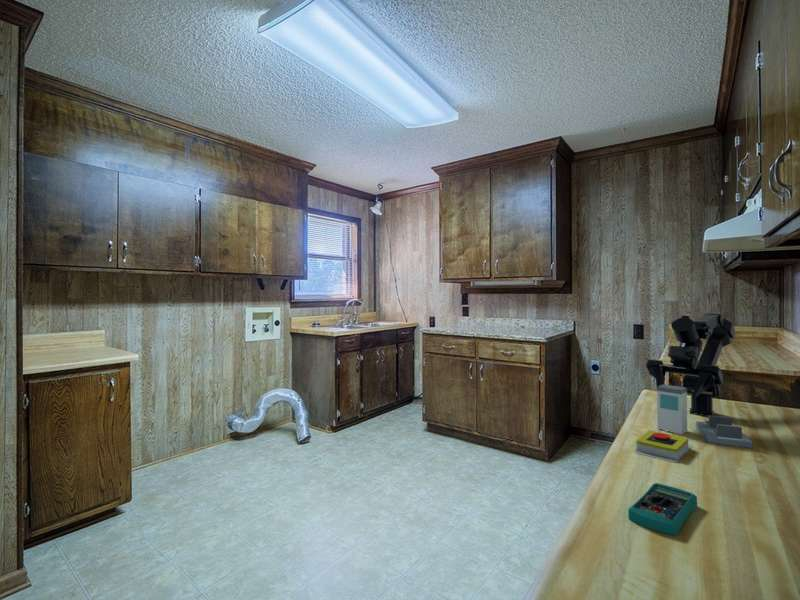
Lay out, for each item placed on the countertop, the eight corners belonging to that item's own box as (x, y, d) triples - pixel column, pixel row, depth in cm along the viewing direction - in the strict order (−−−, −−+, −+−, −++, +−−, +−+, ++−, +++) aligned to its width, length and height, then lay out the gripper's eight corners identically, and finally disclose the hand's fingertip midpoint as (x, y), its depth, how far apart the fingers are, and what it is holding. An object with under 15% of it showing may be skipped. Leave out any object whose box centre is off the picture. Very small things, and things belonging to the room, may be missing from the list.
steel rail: (704, 421, 120) (704, 420, 120) (725, 424, 118) (725, 422, 118) (717, 438, 107) (717, 436, 107) (742, 440, 105) (742, 439, 104)
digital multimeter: (626, 523, 72) (626, 506, 72) (653, 494, 82) (653, 479, 82) (675, 541, 66) (675, 523, 66) (698, 508, 76) (698, 492, 76)
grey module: (663, 426, 122) (663, 384, 122) (687, 431, 117) (686, 387, 117) (657, 429, 119) (657, 386, 119) (681, 434, 114) (680, 390, 114)
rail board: (696, 426, 121) (696, 421, 121) (734, 430, 117) (734, 424, 117) (708, 442, 108) (708, 437, 108) (752, 447, 104) (752, 441, 104)
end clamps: (708, 425, 116) (708, 415, 116) (730, 427, 113) (730, 417, 113) (717, 436, 107) (717, 425, 107) (742, 439, 105) (741, 427, 105)
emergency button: (632, 436, 102) (651, 423, 112) (632, 454, 102) (651, 439, 112) (675, 446, 95) (692, 431, 105) (676, 465, 95) (692, 448, 105)
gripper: (647, 334, 130) (633, 372, 123) (719, 338, 116) (707, 382, 109) (657, 356, 135) (644, 394, 128) (728, 362, 120) (717, 406, 114)
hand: (675, 394), depth 120 cm, fingers open, 9 cm apart
